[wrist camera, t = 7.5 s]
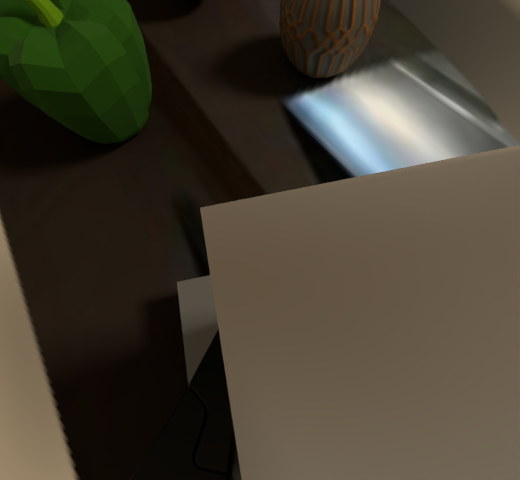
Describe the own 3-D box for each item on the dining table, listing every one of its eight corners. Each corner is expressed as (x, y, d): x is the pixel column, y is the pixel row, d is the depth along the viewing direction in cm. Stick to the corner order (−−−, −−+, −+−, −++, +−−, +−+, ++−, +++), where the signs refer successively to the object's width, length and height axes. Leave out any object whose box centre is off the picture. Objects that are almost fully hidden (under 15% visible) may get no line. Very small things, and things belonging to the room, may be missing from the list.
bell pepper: (191, 105, 23) (138, -59, 13) (118, 179, 21) (-7, 47, 11) (117, 60, 24) (22, -113, 15) (42, 125, 22) (-121, -29, 13)
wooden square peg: (338, 369, 14) (782, 568, 2) (268, 385, 14) (277, 712, 2) (318, 298, 15) (524, 144, 3) (253, 312, 15) (200, 207, 3)
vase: (314, 106, 22) (341, -28, 14) (261, 55, 24) (258, -90, 16) (377, 65, 24) (437, -80, 15) (322, 20, 26) (350, -132, 17)
